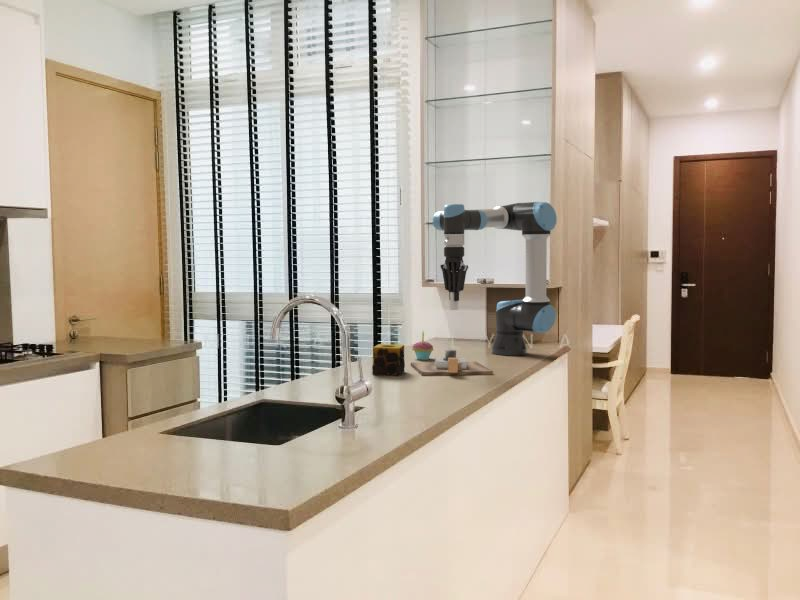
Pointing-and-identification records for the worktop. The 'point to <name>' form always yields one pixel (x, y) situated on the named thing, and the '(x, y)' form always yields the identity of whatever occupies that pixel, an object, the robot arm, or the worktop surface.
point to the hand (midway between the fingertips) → (454, 309)
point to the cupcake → (422, 349)
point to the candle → (388, 359)
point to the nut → (450, 363)
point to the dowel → (459, 366)
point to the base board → (431, 369)
